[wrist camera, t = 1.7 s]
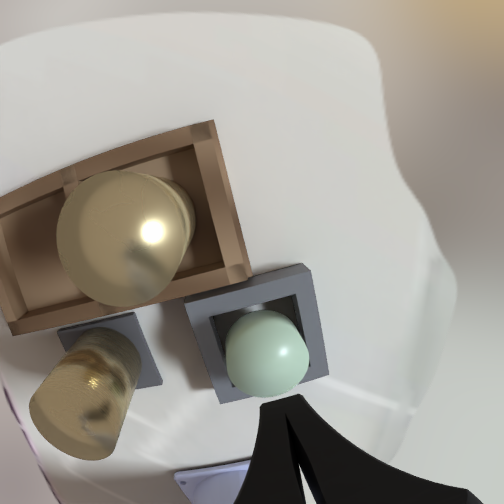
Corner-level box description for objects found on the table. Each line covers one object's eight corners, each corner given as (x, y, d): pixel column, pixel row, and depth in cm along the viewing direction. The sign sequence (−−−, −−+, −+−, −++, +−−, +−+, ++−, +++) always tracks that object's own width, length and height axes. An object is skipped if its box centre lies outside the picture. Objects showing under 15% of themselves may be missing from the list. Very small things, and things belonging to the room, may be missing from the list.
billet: (152, 383, 16) (132, 458, 11) (93, 392, 16) (59, 460, 10) (125, 320, 16) (86, 384, 10) (65, 333, 15) (13, 391, 9)
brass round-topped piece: (206, 249, 15) (199, 289, 9) (127, 270, 15) (81, 318, 9) (184, 166, 14) (162, 152, 8) (104, 190, 14) (42, 195, 8)
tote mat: (162, 381, 17) (161, 384, 16) (90, 392, 17) (88, 395, 16) (134, 312, 16) (132, 315, 16) (59, 329, 16) (56, 332, 15)
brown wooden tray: (251, 273, 16) (256, 284, 14) (27, 327, 15) (11, 341, 13) (213, 122, 15) (213, 112, 13) (-11, 205, 14) (-32, 208, 12)
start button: (304, 363, 16) (314, 384, 14) (236, 382, 16) (238, 405, 14) (291, 301, 15) (301, 317, 13) (216, 320, 15) (216, 340, 13)
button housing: (321, 361, 18) (329, 374, 16) (219, 388, 17) (220, 403, 16) (302, 263, 16) (310, 270, 15) (186, 293, 16) (184, 303, 15)
